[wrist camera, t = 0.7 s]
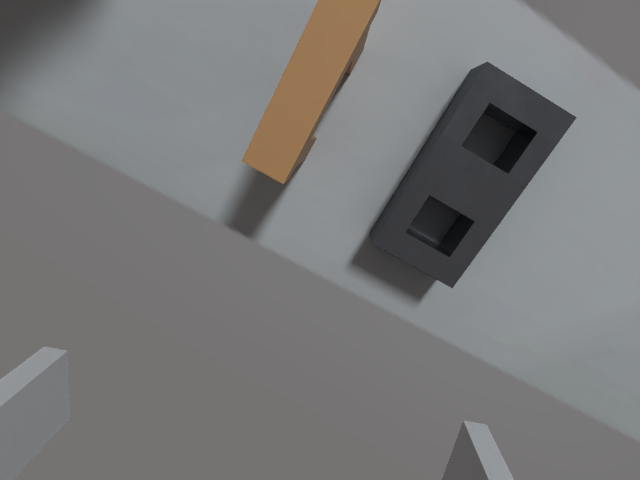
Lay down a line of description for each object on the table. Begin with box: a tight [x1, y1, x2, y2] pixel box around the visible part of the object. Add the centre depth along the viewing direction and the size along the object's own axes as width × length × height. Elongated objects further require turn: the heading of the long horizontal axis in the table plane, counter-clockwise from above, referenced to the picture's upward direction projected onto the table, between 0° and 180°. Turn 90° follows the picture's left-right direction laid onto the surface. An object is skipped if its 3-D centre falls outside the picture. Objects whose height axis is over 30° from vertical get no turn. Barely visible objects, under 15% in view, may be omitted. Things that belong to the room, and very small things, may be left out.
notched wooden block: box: [242, 0, 381, 184], centre depth 27 cm, size 12×3×10 cm, turn 151°
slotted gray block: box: [370, 62, 576, 288], centre depth 31 cm, size 16×8×4 cm, turn 151°
